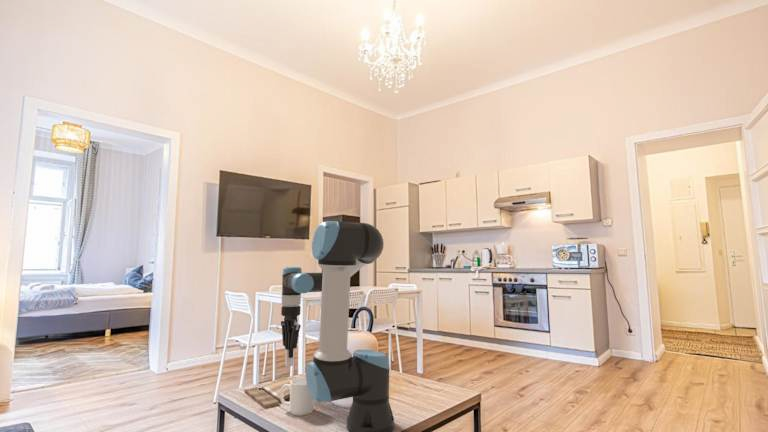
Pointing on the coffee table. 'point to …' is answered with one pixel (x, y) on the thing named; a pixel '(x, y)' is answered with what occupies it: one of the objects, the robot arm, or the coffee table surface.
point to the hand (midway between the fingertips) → (289, 365)
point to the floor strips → (261, 397)
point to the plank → (278, 388)
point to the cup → (298, 397)
